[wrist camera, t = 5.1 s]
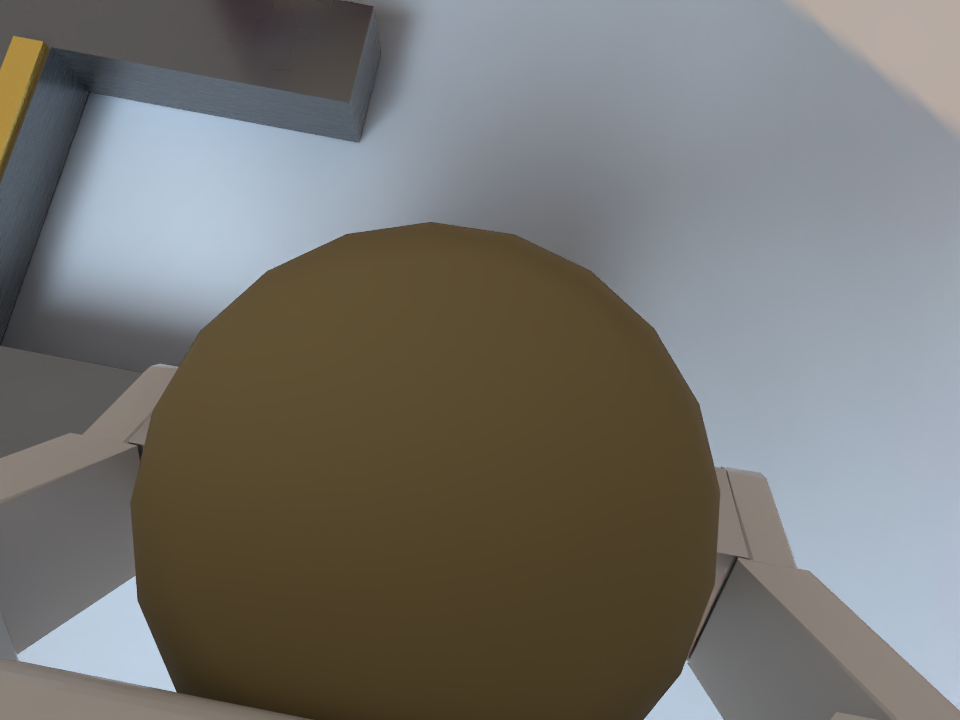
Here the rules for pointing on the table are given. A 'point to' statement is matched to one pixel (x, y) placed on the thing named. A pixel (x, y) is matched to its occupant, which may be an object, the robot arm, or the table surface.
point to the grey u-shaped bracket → (157, 80)
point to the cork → (427, 491)
